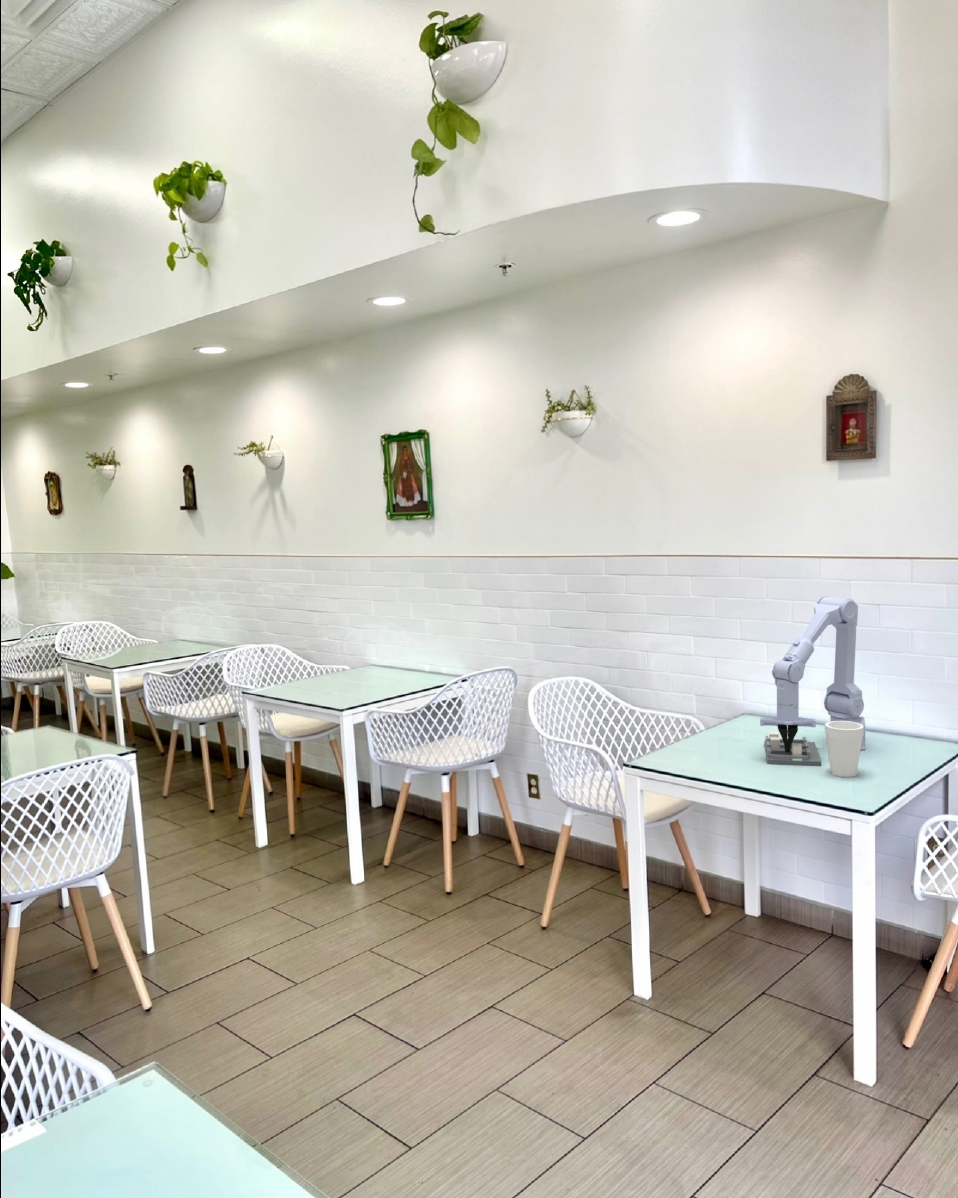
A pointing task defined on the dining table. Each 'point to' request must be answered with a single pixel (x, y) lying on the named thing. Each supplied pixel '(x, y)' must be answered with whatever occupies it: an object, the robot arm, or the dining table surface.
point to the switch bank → (786, 758)
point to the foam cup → (844, 747)
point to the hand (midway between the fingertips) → (787, 751)
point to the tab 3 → (796, 749)
